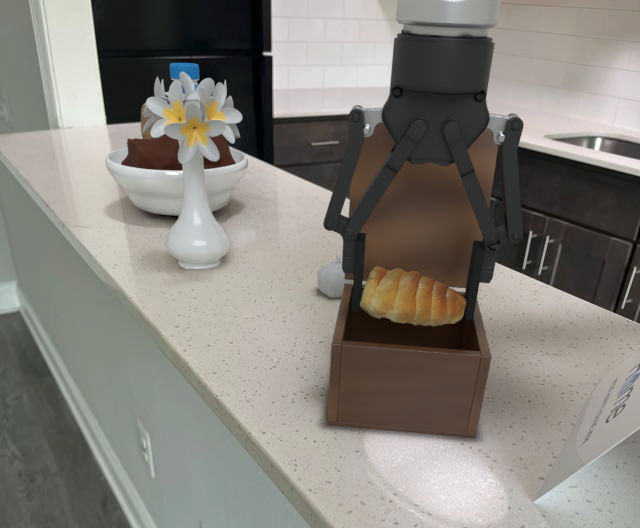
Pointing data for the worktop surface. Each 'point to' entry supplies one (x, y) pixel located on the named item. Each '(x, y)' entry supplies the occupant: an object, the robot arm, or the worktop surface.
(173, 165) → the white bowl
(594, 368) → the worktop surface
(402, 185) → the lid
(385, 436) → the worktop surface
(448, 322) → the pastry
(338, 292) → the garlic
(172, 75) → the beverage bottle
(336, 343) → the bread box
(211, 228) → the flower vase
